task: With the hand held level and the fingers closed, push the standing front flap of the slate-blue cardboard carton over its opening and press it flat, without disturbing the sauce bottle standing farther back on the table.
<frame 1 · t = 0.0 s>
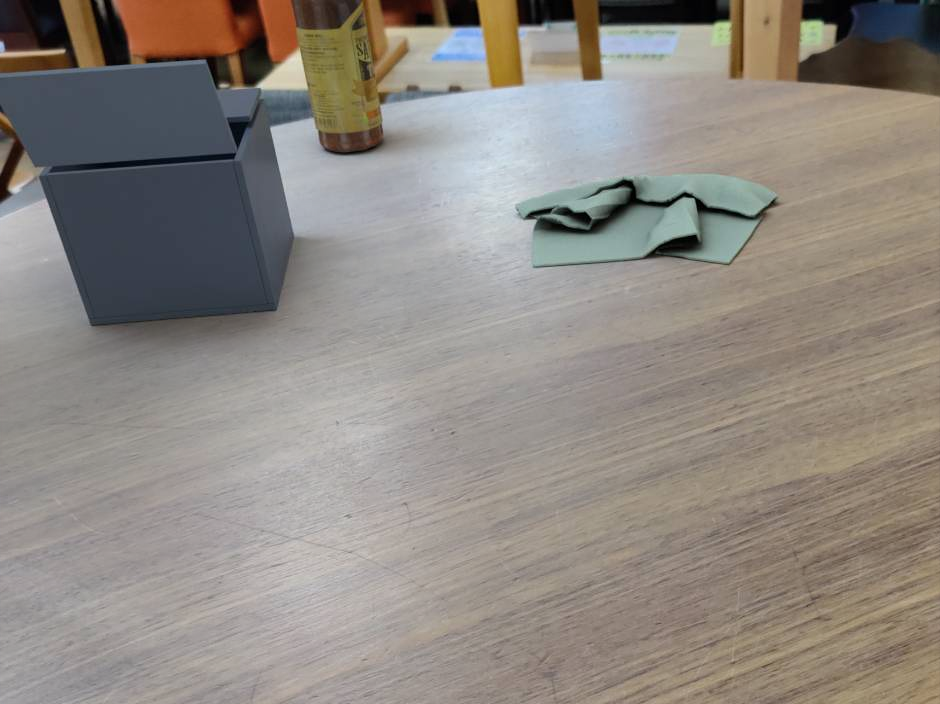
cloth: (637, 224, 97), on the table
flap: (117, 115, 75), point 14 cm above the table, hinge at 115.0°
sauce bottle: (353, 146, 114), on the table
carton: (198, 277, 91), on the table
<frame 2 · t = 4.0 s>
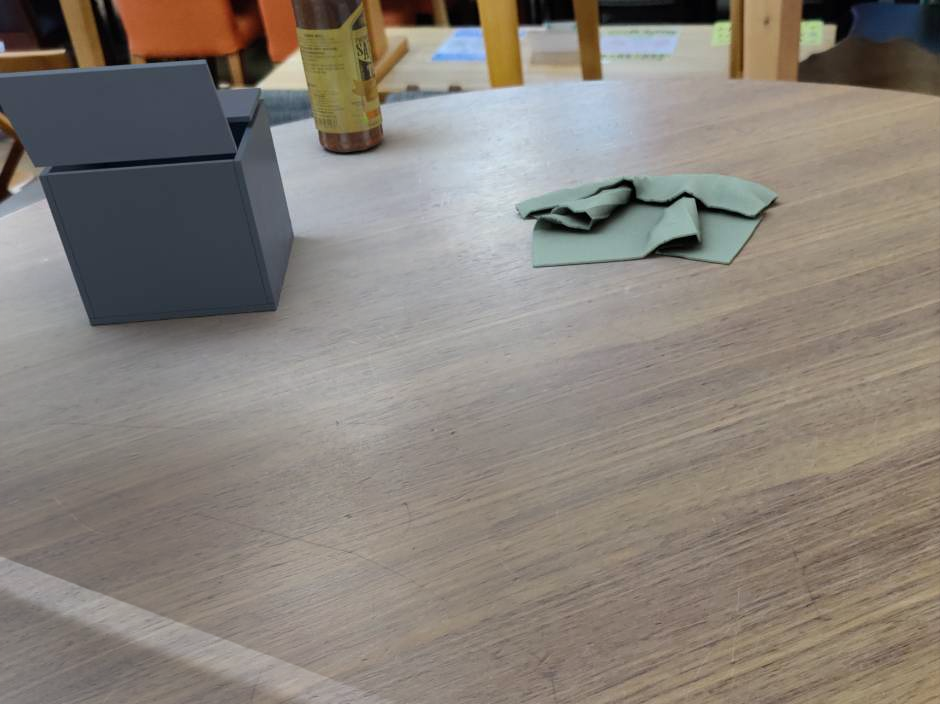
nothing on the table moved.
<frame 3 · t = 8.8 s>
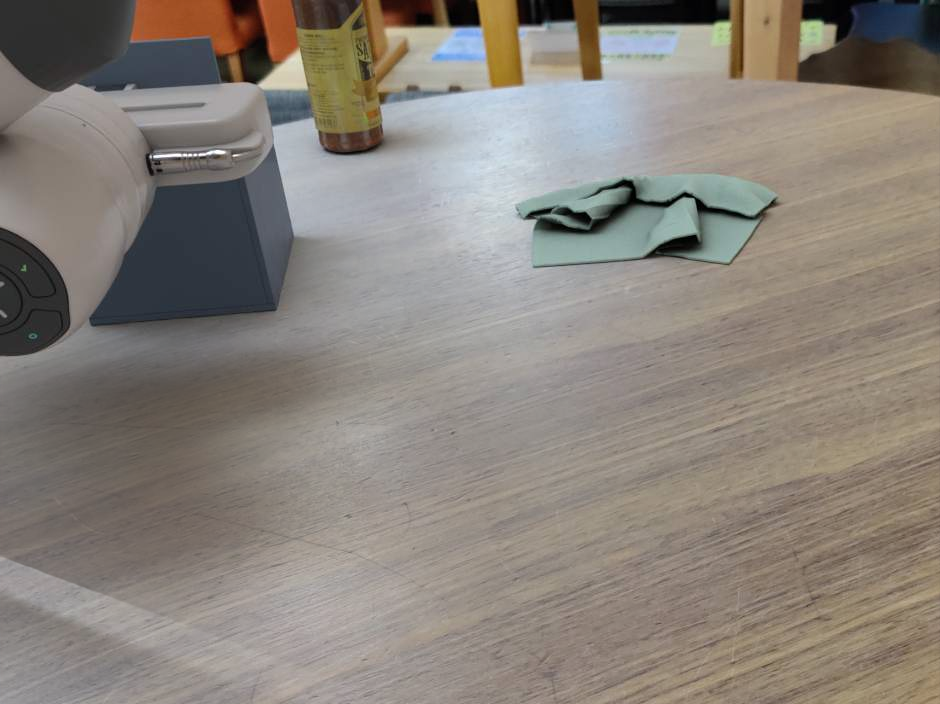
hand: (117, 98, 76), 15 cm above the table, tool horizontal, fingers closed, pressing on flap
flap: (120, 102, 76), point 15 cm above the table, hinge at 88.7°, touching gripper
everything else where it was.
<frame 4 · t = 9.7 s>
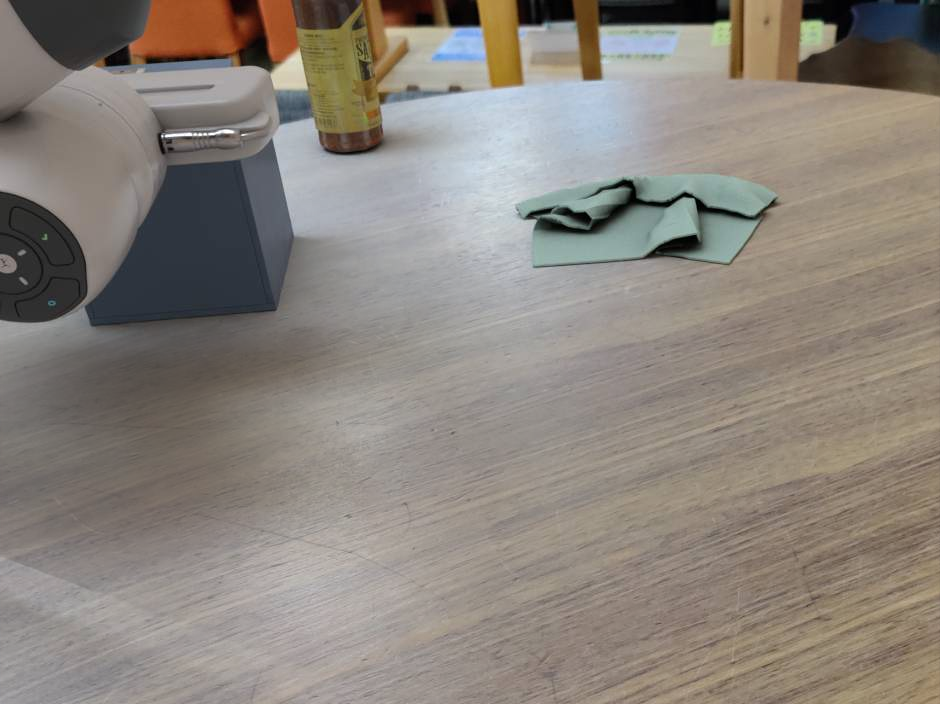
hand: (128, 82, 79), 15 cm above the table, tool horizontal, fingers closed
flap: (135, 112, 79), point 13 cm above the table, hinge at 37.6°
everything else where it was.
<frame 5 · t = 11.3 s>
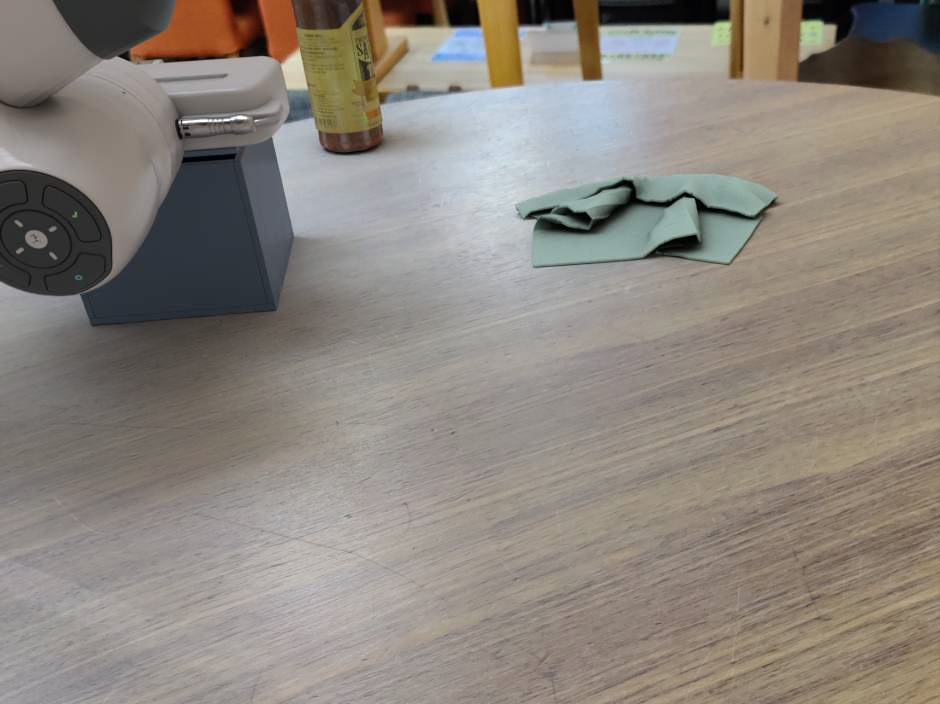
hand: (145, 73, 83), 14 cm above the table, tool horizontal, fingers closed, pressing on flap
flap: (141, 125, 80), point 12 cm above the table, hinge at 18.0°, touching gripper
everything else where it was.
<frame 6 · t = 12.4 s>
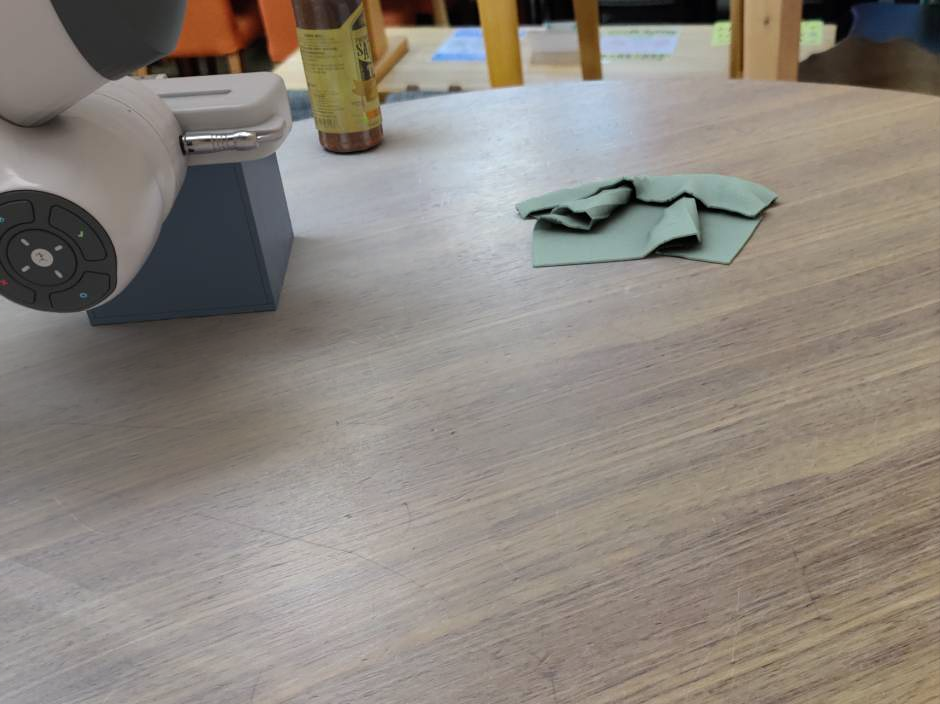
hand: (148, 87, 83), 13 cm above the table, tool horizontal, fingers closed
flap: (144, 132, 81), point 12 cm above the table, hinge at 9.8°
everything else where it was.
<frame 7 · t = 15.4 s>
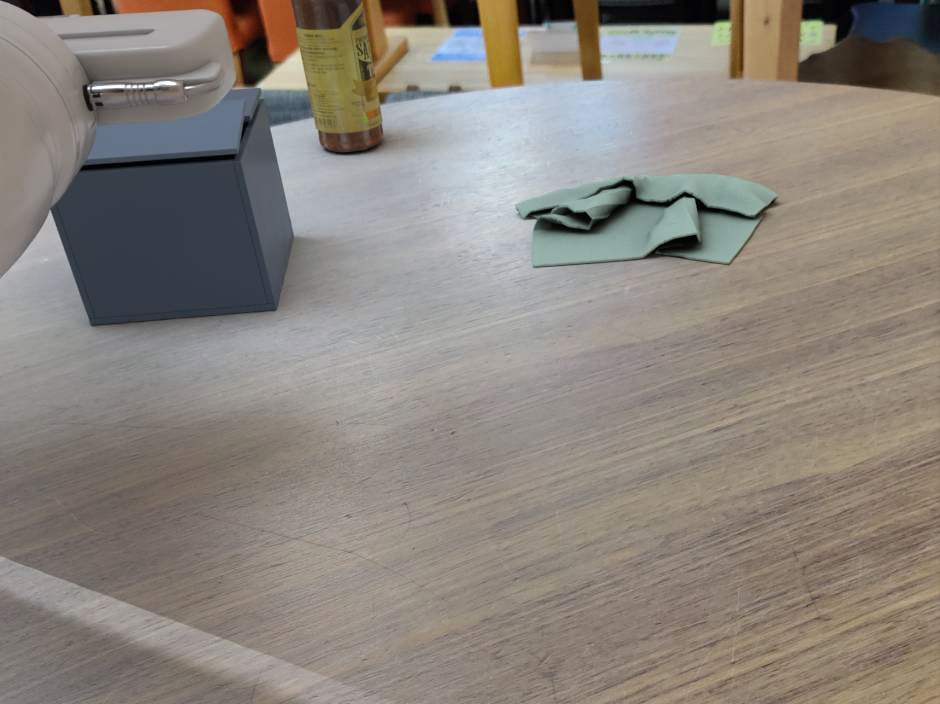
hand: (59, 31, 67), 21 cm above the table, tool horizontal, fingers closed
nothing on the table moved.
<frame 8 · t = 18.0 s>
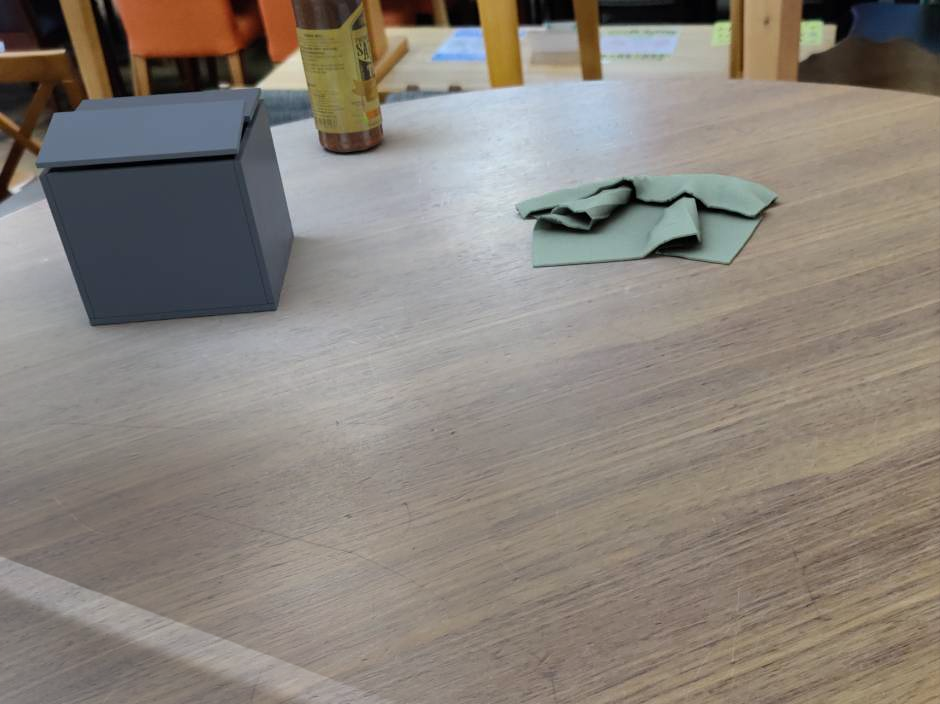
nothing on the table moved.
at the end: flap at +10° (first picture: +115°); sauce bottle moved 0.2 cm from its start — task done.
